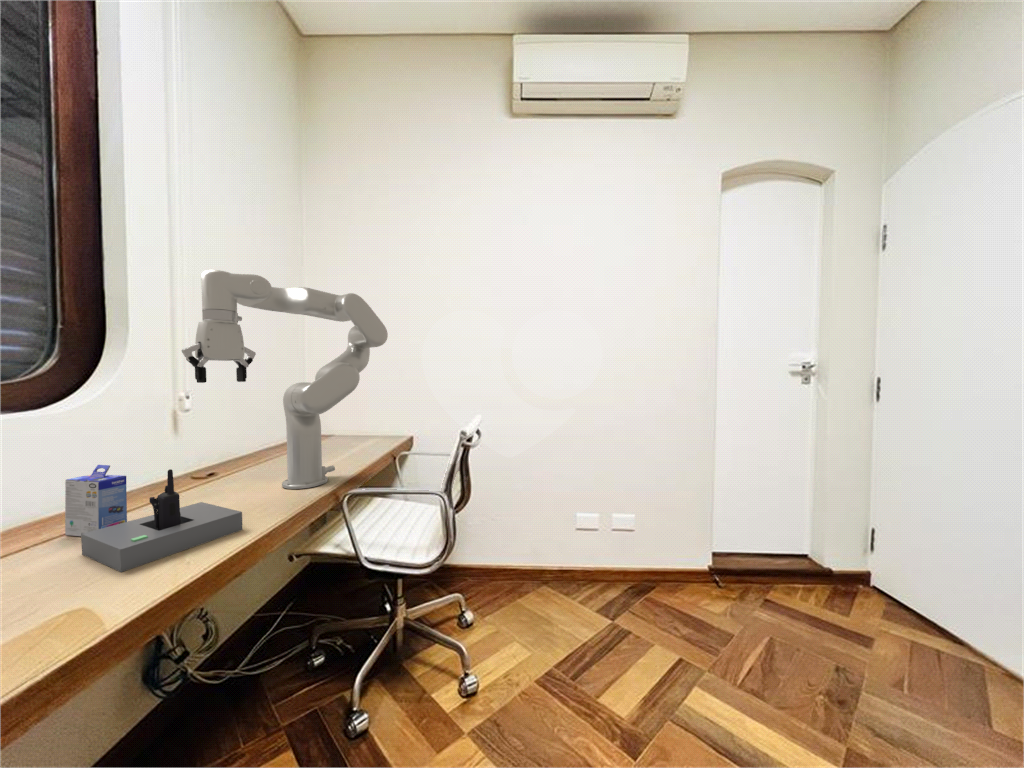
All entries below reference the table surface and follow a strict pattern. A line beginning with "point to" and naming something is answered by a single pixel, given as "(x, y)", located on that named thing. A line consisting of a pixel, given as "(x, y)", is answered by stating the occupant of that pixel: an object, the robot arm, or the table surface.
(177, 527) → the charging cradle
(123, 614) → the table surface
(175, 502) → the two-way radio
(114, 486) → the ink cartridge box
